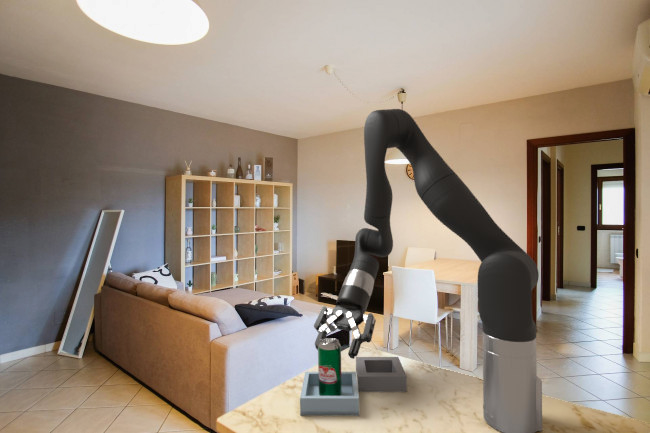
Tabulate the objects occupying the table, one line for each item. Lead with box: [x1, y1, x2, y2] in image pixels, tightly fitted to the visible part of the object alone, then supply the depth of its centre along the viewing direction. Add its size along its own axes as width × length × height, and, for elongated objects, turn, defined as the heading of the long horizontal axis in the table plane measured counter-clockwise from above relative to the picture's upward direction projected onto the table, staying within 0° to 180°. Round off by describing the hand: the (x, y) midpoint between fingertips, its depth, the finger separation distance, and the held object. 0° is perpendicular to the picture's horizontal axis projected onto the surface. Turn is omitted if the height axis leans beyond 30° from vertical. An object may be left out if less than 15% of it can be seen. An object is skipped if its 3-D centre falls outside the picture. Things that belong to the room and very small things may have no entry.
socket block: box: [355, 356, 408, 393], centre depth 86 cm, size 11×11×4 cm
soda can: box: [317, 337, 342, 396], centre depth 77 cm, size 5×5×12 cm
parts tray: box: [299, 371, 360, 417], centre depth 77 cm, size 12×12×4 cm
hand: (334, 353), depth 79 cm, fingers open, 8 cm apart
